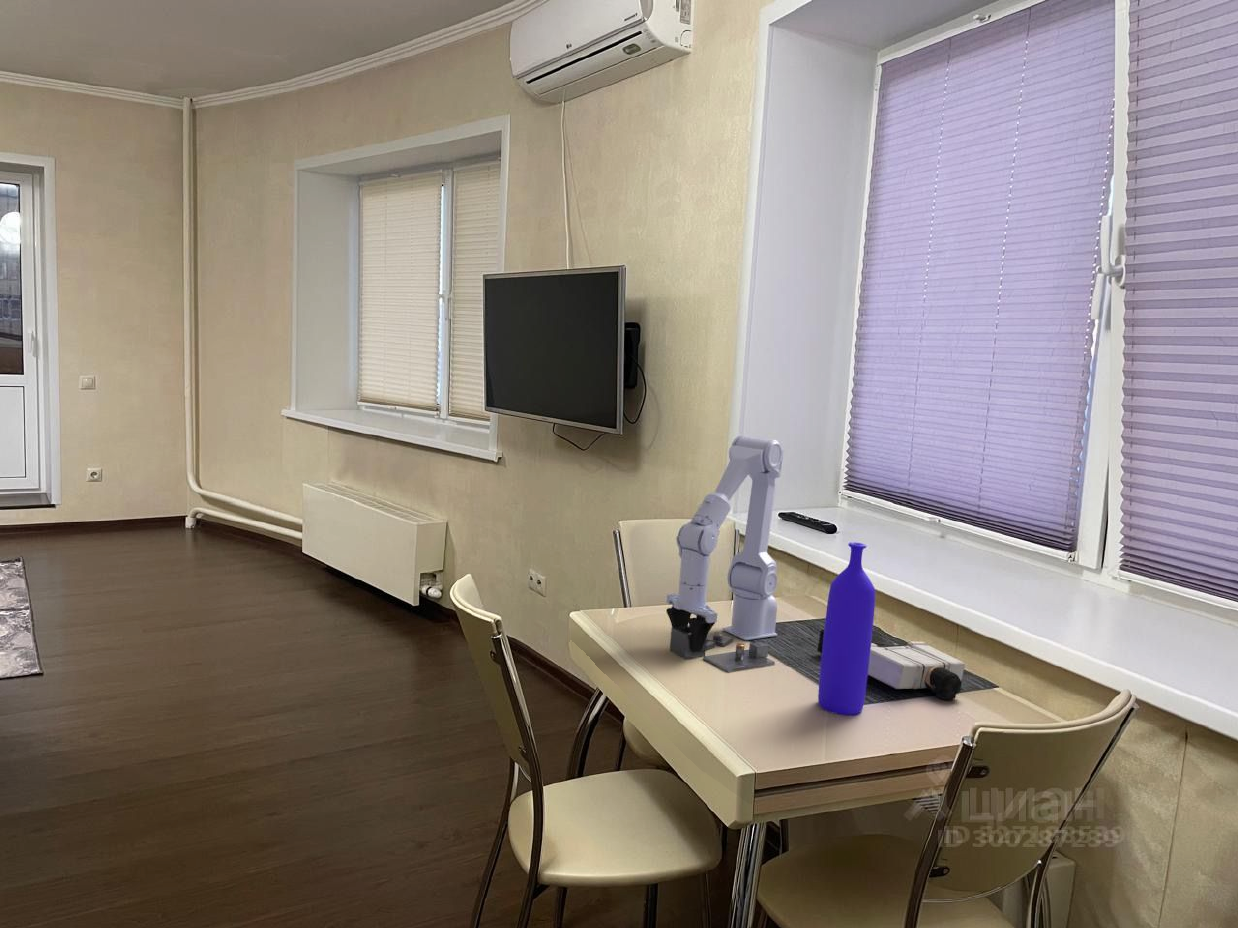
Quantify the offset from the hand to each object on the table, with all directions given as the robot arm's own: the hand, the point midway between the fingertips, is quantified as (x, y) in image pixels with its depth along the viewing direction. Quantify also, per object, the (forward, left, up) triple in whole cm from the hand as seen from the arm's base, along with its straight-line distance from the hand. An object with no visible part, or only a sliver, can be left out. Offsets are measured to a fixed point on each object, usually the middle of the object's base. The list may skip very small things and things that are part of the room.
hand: (687, 646), depth 193 cm
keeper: (-7, +8, -1) cm, 11 cm away
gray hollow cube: (0, 0, -1) cm, 1 cm away
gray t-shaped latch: (-9, -3, -1) cm, 10 cm away
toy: (-32, +26, -2) cm, 42 cm away
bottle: (-9, +34, -2) cm, 35 cm away
